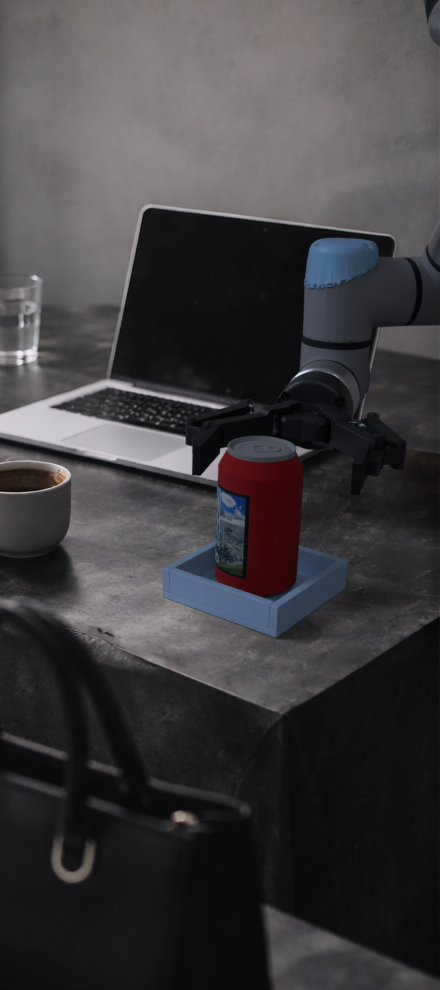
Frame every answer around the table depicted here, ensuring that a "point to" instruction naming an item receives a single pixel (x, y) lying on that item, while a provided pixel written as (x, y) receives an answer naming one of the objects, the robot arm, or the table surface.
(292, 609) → the tray
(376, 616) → the table surface
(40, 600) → the table surface
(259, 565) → the beverage can
